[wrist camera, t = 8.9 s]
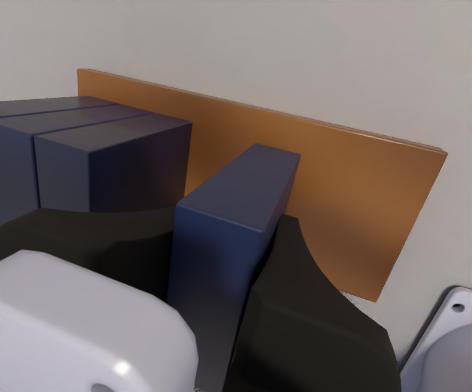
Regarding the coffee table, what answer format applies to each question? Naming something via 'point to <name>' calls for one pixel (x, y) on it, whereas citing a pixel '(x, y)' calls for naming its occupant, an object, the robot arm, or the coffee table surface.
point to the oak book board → (214, 166)
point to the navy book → (226, 251)
